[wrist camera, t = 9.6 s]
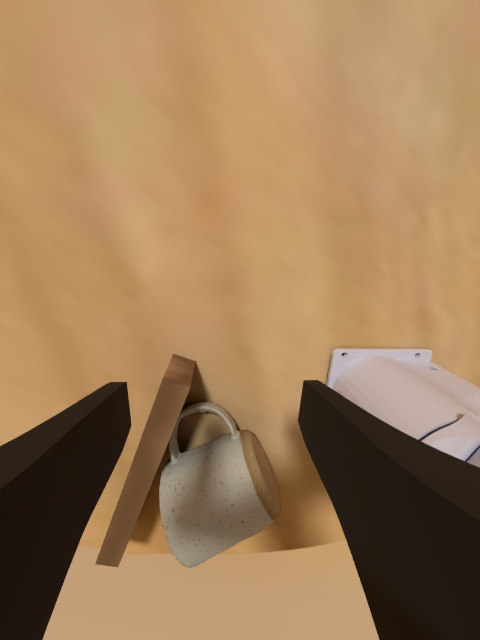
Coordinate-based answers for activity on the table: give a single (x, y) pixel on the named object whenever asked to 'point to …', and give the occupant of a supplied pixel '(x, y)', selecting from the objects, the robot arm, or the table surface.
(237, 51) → the table surface
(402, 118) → the table surface
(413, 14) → the table surface
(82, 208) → the table surface
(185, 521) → the ceramic mug
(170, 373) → the rail
